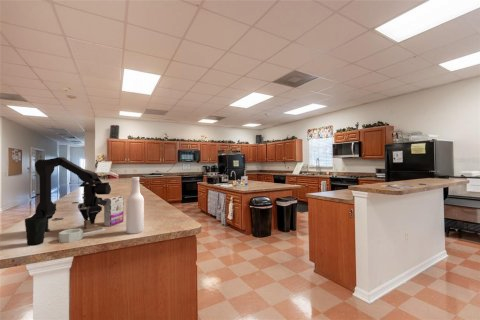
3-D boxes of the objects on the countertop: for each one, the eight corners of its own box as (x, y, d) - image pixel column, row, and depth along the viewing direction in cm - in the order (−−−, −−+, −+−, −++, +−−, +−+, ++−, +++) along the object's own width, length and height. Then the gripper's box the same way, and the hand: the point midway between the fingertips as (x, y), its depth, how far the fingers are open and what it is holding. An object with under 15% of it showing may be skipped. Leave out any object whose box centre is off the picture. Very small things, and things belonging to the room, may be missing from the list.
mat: (72, 230, 125) (72, 229, 125) (96, 226, 135) (96, 225, 135) (80, 235, 117) (80, 234, 117) (106, 230, 126) (106, 229, 126)
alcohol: (144, 232, 122) (145, 177, 123) (126, 235, 118) (127, 177, 118) (142, 228, 130) (143, 176, 130) (125, 230, 125) (126, 177, 126)
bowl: (56, 240, 110) (57, 231, 110) (78, 235, 117) (78, 227, 117) (62, 244, 104) (62, 235, 105) (84, 239, 112) (85, 230, 112)
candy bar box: (117, 221, 146) (117, 196, 147) (123, 221, 145) (123, 196, 146) (103, 225, 135) (103, 198, 136) (110, 226, 134) (110, 198, 135)
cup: (33, 241, 108) (34, 216, 109) (50, 240, 109) (50, 215, 109) (19, 247, 101) (19, 220, 101) (37, 246, 101) (38, 219, 102)
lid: (75, 230, 125) (75, 221, 125) (95, 226, 133) (96, 217, 133) (81, 233, 119) (81, 223, 119) (102, 229, 126) (102, 220, 127)
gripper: (112, 194, 127) (111, 222, 126) (99, 192, 138) (98, 217, 138) (89, 196, 118) (89, 226, 117) (77, 193, 129) (77, 221, 129)
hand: (89, 222), depth 126 cm, fingers open, 9 cm apart
